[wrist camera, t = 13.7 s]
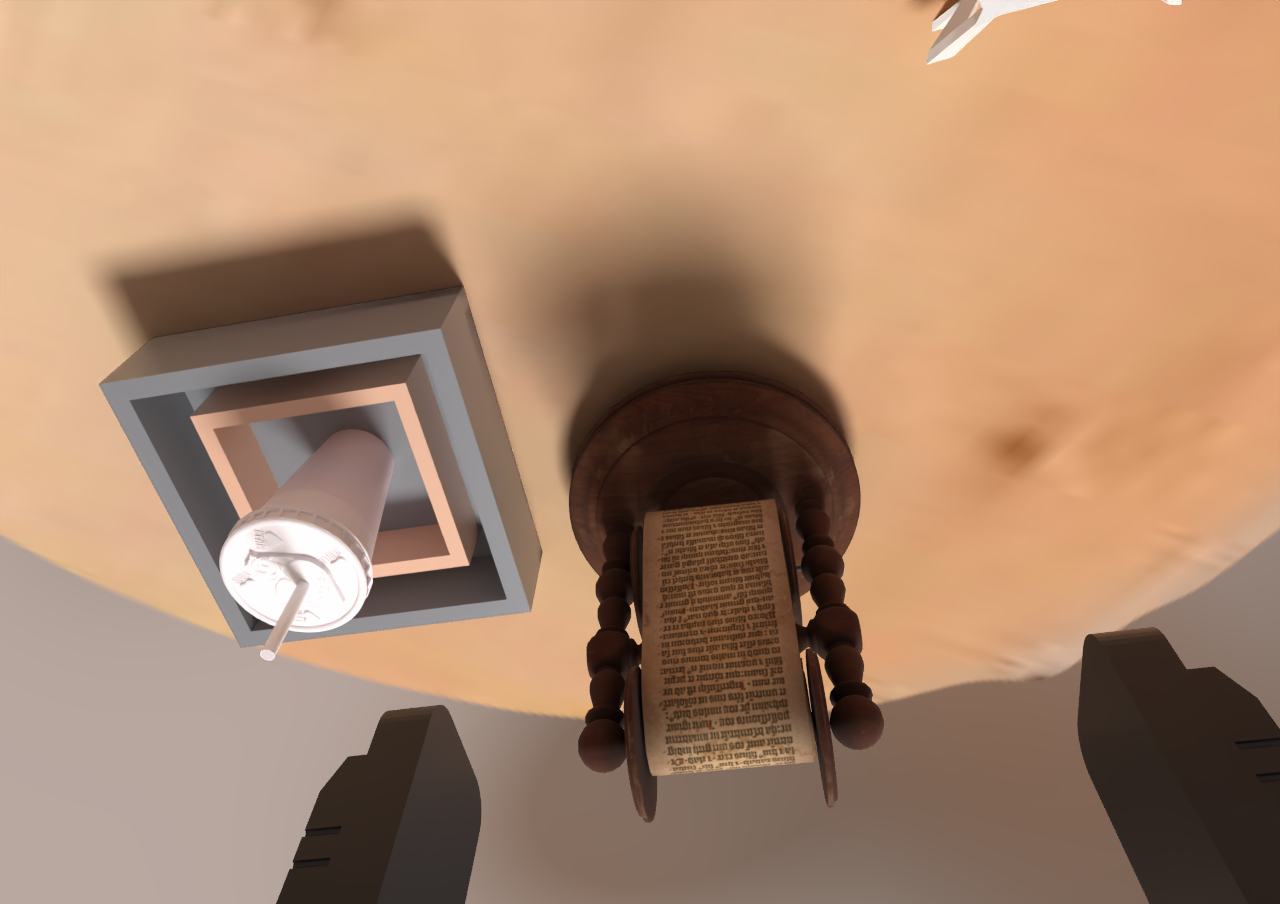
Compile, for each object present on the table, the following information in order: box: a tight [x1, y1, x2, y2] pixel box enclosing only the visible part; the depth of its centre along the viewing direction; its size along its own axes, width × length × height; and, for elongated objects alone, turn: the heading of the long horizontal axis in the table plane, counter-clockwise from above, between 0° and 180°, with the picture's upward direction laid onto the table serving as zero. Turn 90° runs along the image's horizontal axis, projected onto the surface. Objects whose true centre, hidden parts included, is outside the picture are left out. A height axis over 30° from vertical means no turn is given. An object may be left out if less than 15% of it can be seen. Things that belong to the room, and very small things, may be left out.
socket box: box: [99, 286, 542, 647], centre depth 47 cm, size 16×16×5 cm
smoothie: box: [219, 429, 394, 660], centre depth 42 cm, size 6×6×14 cm
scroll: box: [569, 371, 884, 823], centre depth 41 cm, size 15×15×20 cm
